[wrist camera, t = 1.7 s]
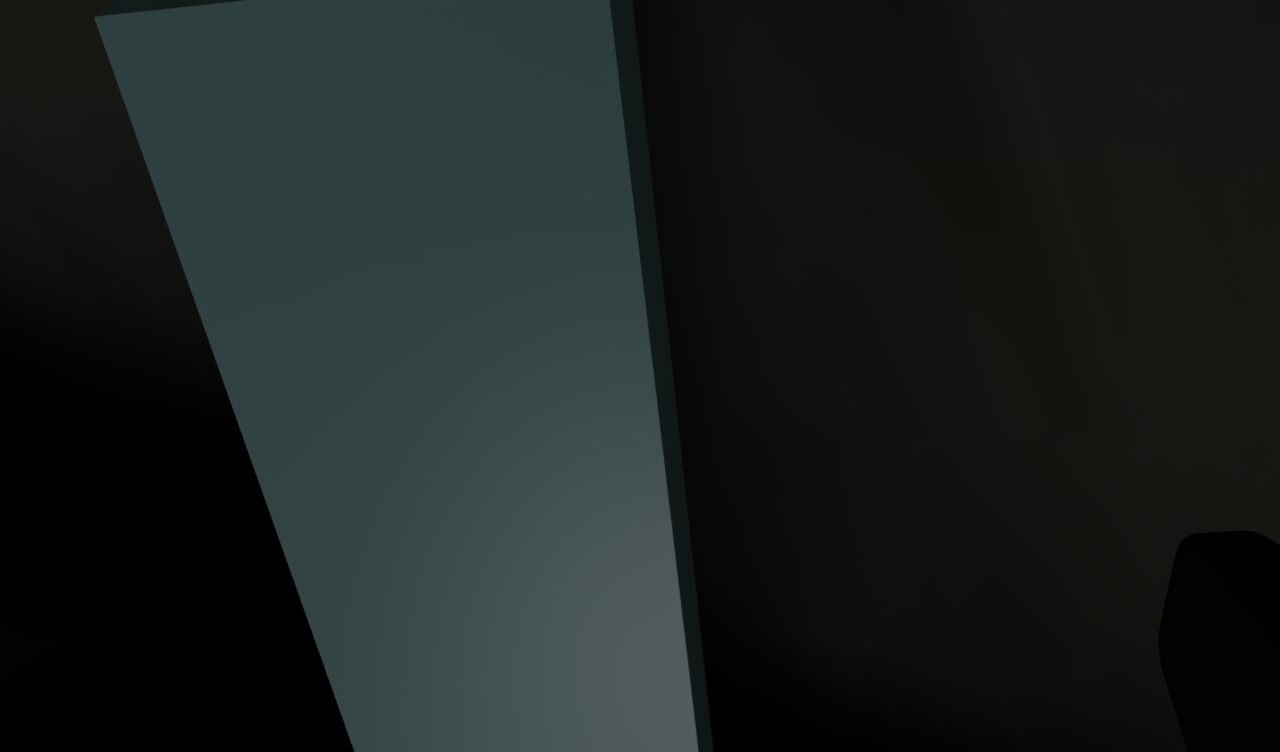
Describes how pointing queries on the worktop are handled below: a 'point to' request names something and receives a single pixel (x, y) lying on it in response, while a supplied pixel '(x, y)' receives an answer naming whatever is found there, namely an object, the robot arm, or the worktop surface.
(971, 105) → the worktop surface
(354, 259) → the dark grey-teal rectangular block
